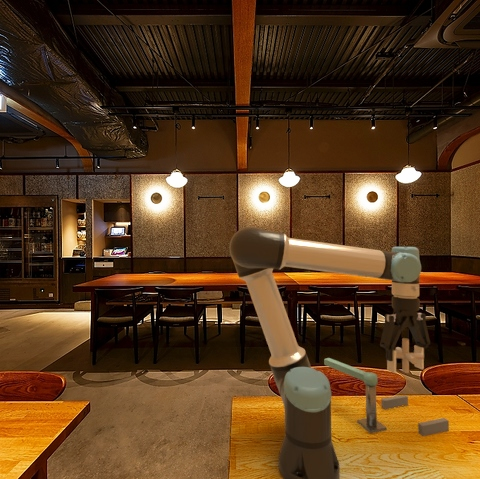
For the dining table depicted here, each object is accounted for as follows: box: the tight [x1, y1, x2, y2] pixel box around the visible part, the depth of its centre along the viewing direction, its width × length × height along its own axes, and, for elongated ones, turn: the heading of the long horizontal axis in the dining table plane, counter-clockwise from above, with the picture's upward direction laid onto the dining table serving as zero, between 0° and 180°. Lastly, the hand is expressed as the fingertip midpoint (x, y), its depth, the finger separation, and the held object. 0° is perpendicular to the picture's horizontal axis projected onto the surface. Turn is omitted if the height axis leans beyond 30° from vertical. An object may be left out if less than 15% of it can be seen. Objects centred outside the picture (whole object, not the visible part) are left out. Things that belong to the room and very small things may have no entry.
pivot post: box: [356, 384, 387, 434], centre depth 94 cm, size 6×6×13 cm
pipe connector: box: [394, 337, 425, 374], centre depth 91 cm, size 10×10×10 cm
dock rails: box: [380, 394, 450, 437], centre depth 98 cm, size 10×17×3 cm, turn 15°
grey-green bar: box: [323, 357, 378, 386], centre depth 101 cm, size 20×4×2 cm, turn 32°
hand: (405, 369), depth 91 cm, fingers closed on pipe connector, 10 cm apart
